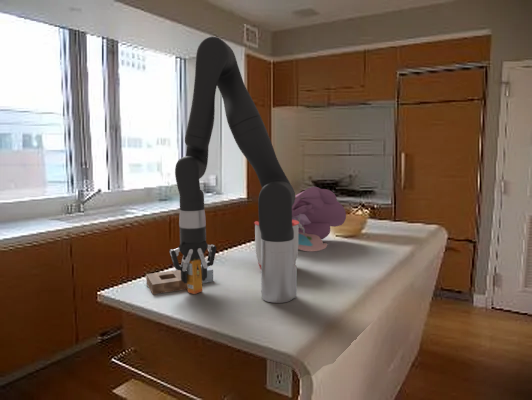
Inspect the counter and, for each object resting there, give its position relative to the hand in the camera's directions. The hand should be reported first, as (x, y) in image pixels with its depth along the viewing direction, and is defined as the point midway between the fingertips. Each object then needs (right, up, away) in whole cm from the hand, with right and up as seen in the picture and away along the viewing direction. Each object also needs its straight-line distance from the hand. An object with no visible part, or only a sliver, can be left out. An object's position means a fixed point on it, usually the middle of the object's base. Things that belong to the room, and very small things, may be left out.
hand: (194, 281), depth 120 cm
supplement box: (0, -4, 0) cm, 4 cm away
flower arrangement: (+38, +4, +57) cm, 68 cm away
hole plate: (-9, -3, +6) cm, 11 cm away
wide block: (0, -2, +12) cm, 12 cm away
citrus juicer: (+24, 0, +23) cm, 34 cm away
